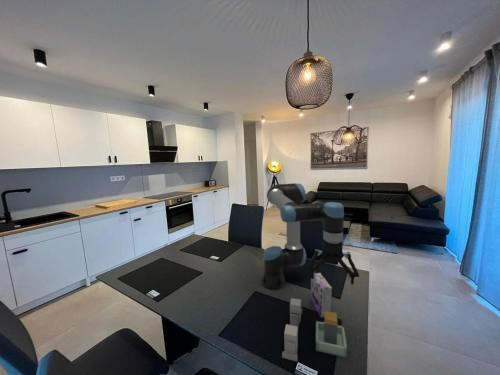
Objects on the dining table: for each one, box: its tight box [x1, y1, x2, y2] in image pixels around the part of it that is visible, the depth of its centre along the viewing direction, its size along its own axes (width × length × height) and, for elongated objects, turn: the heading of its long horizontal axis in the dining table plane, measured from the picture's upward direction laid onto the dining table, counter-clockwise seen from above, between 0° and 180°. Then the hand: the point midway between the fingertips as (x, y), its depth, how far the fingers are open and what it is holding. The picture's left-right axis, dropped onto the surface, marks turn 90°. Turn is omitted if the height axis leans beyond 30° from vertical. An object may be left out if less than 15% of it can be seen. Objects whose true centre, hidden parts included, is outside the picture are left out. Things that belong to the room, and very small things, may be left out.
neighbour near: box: [283, 324, 299, 356], centre depth 89 cm, size 5×5×9 cm
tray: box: [315, 320, 348, 359], centre depth 92 cm, size 12×12×4 cm
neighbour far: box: [289, 297, 302, 324], centre depth 106 cm, size 5×5×9 cm
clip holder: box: [281, 307, 303, 363], centre depth 97 cm, size 6×28×6 cm, turn 162°
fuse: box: [323, 311, 338, 345], centre depth 91 cm, size 5×5×12 cm
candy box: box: [310, 272, 333, 318], centre depth 112 cm, size 14×6×16 cm, turn 5°
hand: (331, 288), depth 89 cm, fingers open, 13 cm apart
